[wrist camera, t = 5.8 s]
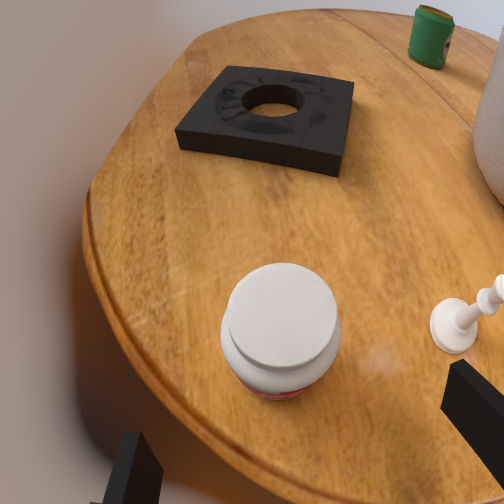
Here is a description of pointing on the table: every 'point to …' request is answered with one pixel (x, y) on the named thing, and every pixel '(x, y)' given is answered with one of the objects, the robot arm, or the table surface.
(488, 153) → the planter
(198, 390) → the table surface
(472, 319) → the chess piece
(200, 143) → the black pad
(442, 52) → the beverage can
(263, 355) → the pill bottle
